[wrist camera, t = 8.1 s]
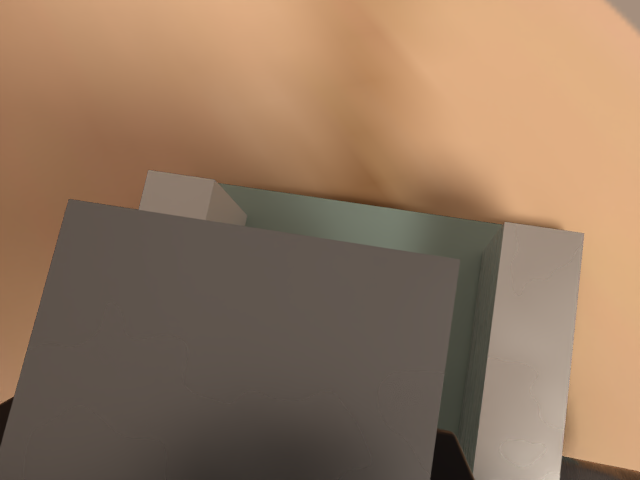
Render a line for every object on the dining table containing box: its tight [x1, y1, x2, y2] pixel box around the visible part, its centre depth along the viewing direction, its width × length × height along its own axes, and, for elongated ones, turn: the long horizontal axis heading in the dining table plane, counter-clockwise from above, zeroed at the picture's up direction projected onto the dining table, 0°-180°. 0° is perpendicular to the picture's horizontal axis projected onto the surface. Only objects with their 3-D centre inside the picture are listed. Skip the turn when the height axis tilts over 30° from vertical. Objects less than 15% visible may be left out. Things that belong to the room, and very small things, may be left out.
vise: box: [138, 170, 502, 439], centre depth 18 cm, size 15×14×5 cm
